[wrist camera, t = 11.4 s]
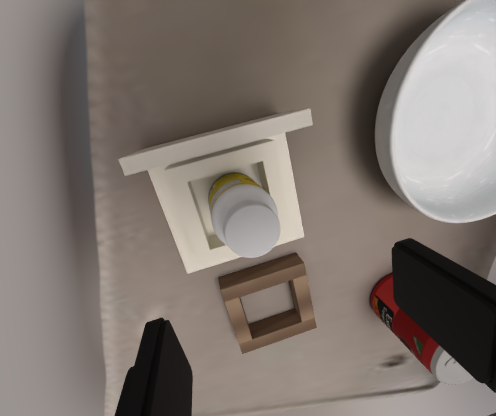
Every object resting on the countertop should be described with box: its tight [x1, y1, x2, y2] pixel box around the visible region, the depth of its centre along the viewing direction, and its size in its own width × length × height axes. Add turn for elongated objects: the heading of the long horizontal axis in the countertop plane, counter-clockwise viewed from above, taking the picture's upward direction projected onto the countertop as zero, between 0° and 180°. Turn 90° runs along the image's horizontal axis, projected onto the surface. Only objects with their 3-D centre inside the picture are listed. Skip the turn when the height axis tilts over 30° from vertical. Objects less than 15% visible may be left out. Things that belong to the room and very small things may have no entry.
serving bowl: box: [375, 0, 496, 223], centre depth 26 cm, size 21×21×7 cm
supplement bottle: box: [208, 172, 281, 258], centre depth 22 cm, size 5×5×10 cm
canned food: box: [371, 273, 474, 385], centre depth 32 cm, size 8×8×11 cm
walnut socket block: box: [219, 253, 317, 354], centre depth 32 cm, size 10×10×2 cm
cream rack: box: [118, 108, 313, 274], centre depth 24 cm, size 14×14×8 cm
